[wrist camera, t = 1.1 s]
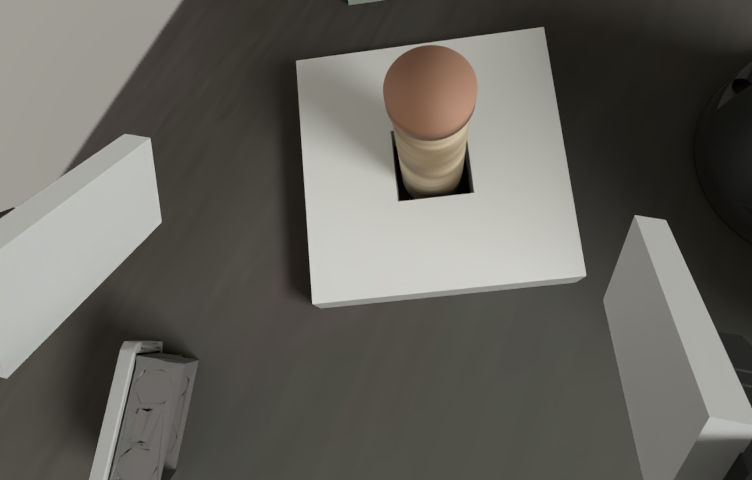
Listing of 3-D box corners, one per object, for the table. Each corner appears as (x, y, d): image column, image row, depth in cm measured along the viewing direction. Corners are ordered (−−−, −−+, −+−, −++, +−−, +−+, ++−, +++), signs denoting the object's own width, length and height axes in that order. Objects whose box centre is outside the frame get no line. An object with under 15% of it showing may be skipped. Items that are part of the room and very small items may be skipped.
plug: (460, 140, 44) (471, 39, 30) (468, 202, 43) (483, 125, 29) (396, 148, 44) (378, 51, 31) (402, 209, 43) (387, 137, 30)
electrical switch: (153, 339, 43) (93, 335, 34) (222, 350, 43) (180, 349, 34) (123, 472, 41) (51, 506, 32) (195, 485, 41) (142, 522, 32)
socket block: (536, 48, 45) (543, 26, 42) (575, 282, 41) (586, 275, 38) (304, 80, 46) (295, 60, 43) (320, 308, 42) (312, 304, 39)
